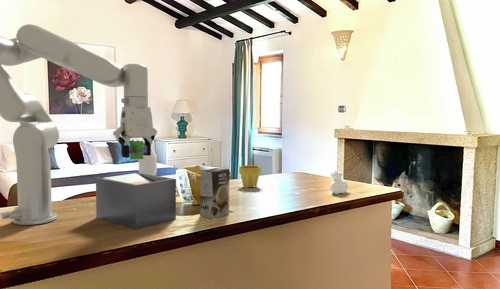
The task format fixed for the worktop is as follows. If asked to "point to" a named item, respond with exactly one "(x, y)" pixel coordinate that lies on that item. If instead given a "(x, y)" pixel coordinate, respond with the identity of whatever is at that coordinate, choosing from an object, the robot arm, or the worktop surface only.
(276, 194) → the worktop surface
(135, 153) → the geometric puzzle
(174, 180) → the bin
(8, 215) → the robot arm
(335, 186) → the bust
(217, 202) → the coffee box
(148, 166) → the water bottle
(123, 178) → the trapdoor
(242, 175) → the plant pot
